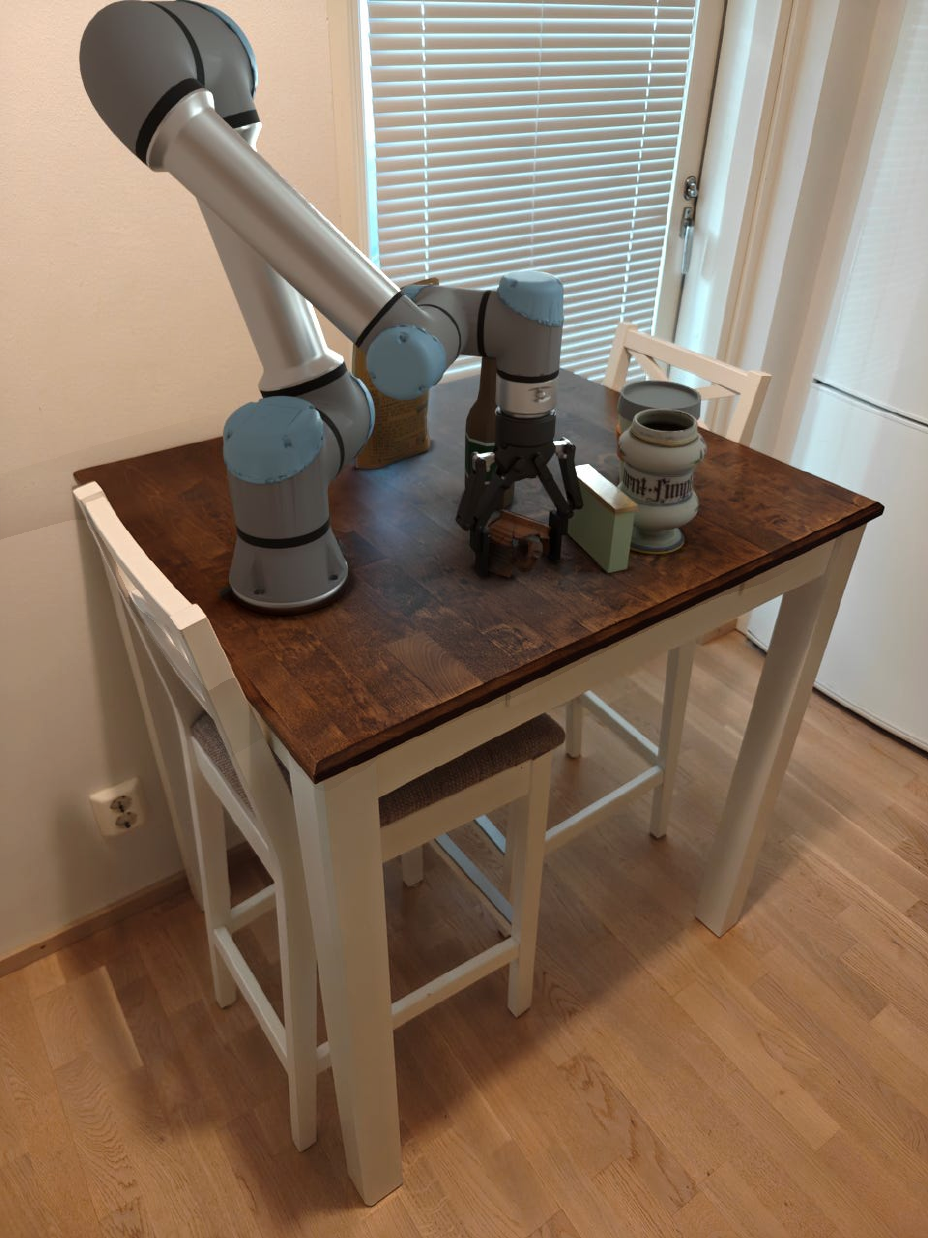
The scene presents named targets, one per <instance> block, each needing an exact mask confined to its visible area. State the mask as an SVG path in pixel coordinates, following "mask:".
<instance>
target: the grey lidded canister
mask: <svg viewBox="0 0 928 1238" xmlns="http://www.w3.org/2000/svg"><path fill="white" fill-rule="evenodd" d="M701 405H702V395H701V394H700V392H699V391H697V390H696V389H695V388H693V387H690V386H688V385H686V384H682V383H679V382H674V381H668V380H659V379H658V380H657V379H655V380H654V379H648V380H647V379H646V380H638V381H633V382H630V383H627V384H625V385H624V386H622V388H621V389H620V393H619V397H618V401H617V405H616V411H617V413H618V423H617V424H616V428H615V429H616V430H615V431H616V432H615V434H616V435H615V437H616V439H615V440H616V442H615V443H616V444H615V445H616V455H617V458H618V460H619V461H618V462H619V465H618V466H619V484H620V483H621V482H622V480H623V473H624V464H625V460H624V459H623V458H622V456H621V455H620V453H619V450H618V441H619V438H620V436H621V435H622V434H623V432H624V431H625V430H627V429H628V428H630V427H631V425H632V423H633V419H634V417H635V415H636V414H638V413H639V412H642V411H644V410H648V409H673V410H679V411H683V412H686V413H688V414H690V415H692V416H693V417H695V418H696V420H697V421H698V420H699V419H700V417H701V407H702V406H701Z"/></svg>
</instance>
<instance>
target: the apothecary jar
mask: <svg viewBox="0 0 928 1238" xmlns="http://www.w3.org/2000/svg"><path fill="white" fill-rule="evenodd" d="M698 427H699V426H698V420H696V418H695V417H693V416H692V415H690V414H688V413H686V412H683V411H679V410H673V409H648V410H644V411H642V412H639V413H638V414H636V415H635V417H634V419H633V423H632V425H631V427H630V428H628V429H627V430H625V431H624V432H623V434H622V435H621V436H620V438H619V441H618V450H619V453H620V455H621V456H622V458H623V459H624V460H625V464H624V473H623V480H622V482H621V483H620V482H619V484H618V485H617V486H616V487H617V488H618V489H619V490H620V491H622V492H623V493H624V494H625V495H626V496H628V497H629V498H630V499H631V500H632V501H634V502H635V503H636V504H637V505H638V509H637V510H636V511H635V514H634V521H633V529H632V536H631V543H630V551H633V552H637V553H641V554H645V555H646V554H647V555H666V554H670V553H674V552H676V551H679V549H680V548H682V546H683V545H684V544H685V536H684V533H683V532H682V530H681V529H680V528H681V527H683V526H685V525H687V524H688V523H689V522H691V521H692V520H694V518H695V517H696V515H697V513H698V511H699V508H700V507H699V503H700V502H699V497H698V495H697V493H696V492H695V490H694V489H693V482H694V474H695V468H696V467H698V466H699V465H701V463H702V462H703V461H704V460H705V458H706V455H707V451H708V449H707V448H708V447H707V443H706V441H705V439H704V437H703V436H702V435H701V433H699V432H698V431H699V430H698Z"/></svg>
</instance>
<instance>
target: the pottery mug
mask: <svg viewBox="0 0 928 1238" xmlns="http://www.w3.org/2000/svg"><path fill="white" fill-rule="evenodd" d="M498 513H499V515H498V516H497V517H496V518H494V519H493V520H491V521H490V523H488V524H487V528H489V529H488V532H489V552H488V571H490V572H493V573H495V574H497V575H500V576H503V577H506V578H511V576H512V572H513V570H514V567H515V569H516V570H517V571H518V572H519V573H521V574H525V573H528V572H531V571H532V570H533V568H534V567H535V566H537V564H538V563H539V561H540V560H541V558H542V556H549V554H548V553H549V551H550V549H549V547H550V542H549V540H550V537H549V535H548V534H549V531H550V529H551V527H549V526H548V524H546V523H545V522H542V521H539V520H536V519H534V518H531V517H528V516H525V515H522V514H519V513H516V512H514V511H511V510H508V509H499V511H498ZM514 540H516V541H517V544H518V545H514Z"/></svg>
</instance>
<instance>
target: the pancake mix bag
mask: <svg viewBox="0 0 928 1238" xmlns="http://www.w3.org/2000/svg"><path fill="white" fill-rule="evenodd" d="M427 284H435V285H439V286H440V279H439V278H437V277H436V276H434V277H433V276H432V277H430V278H425V279H422V280H419V281H415V282H412V283H409V284H406V285H404V286H401V287H398V288H399V289H400V290H402V289H403V288H404V287H406V286H408V285H427ZM351 354H352V355H351V373H352V374H353V376H354V377H355V378H358V379H360V380H361V381H362V382H363V383H364V385H365V386H366V387H367V389H368V391H369V393H370V395H371V397H372V400H373V403H374V408H375V423H374V427H373V431H372V433H371V436H370V437H369V439H368V441H367V443H366V445H365V446H364V448H363V450H362V451H361V452H360V453H359V454H358V455H357V456H356V465H355V468H356V469H362V470H377V469H384V468H385V467H389V466H391V465H393V464H396V463H398V462H401V461H404V460H406V459H409V458H411V457H414V456H416V455H420V454H422V453H426V452H429V450H430V448H431V435H430V431H429V428H428V414H429V413H428V412H429V400H430V389H429V390H428V391H426V392H425V393H424V394H423V395H421V396H419V397H417V398H415V399H411V400H397V399H394V398H391V397H389V396H386V395H385V394H383V393H382V392H381V391H379V390H378V389H377V388H376V386H375V385H374V384H373V382H372V380H371V378H370V376H369V373H368V370H367V366H366V357H367V356H366V355H365V354H364V353H363V352H362V351H361V350H360V349H359V348H358V347H357V346H356V345H355V344H354V343H353V342H352V353H351Z"/></svg>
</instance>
